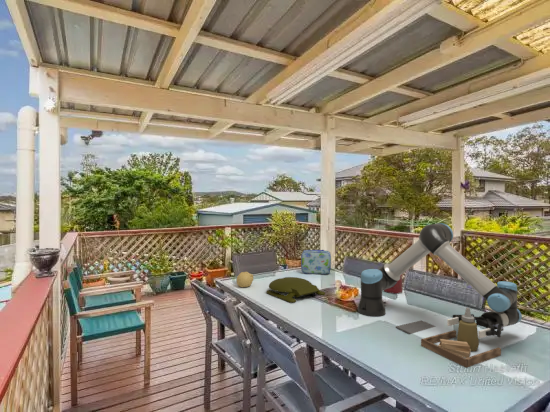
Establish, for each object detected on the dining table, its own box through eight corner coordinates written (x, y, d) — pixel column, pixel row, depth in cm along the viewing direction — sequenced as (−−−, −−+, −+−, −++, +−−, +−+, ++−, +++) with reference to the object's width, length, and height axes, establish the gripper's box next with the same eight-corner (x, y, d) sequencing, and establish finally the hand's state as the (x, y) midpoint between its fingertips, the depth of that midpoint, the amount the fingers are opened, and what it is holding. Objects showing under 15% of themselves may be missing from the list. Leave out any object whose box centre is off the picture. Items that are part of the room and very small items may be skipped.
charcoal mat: (421, 321, 166) (421, 320, 166) (453, 334, 150) (453, 333, 150) (395, 327, 159) (395, 326, 159) (426, 342, 142) (426, 340, 142)
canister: (402, 289, 227) (402, 264, 226) (403, 294, 214) (403, 268, 214) (383, 287, 231) (382, 263, 231) (382, 292, 219) (382, 267, 218)
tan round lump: (255, 285, 240) (255, 271, 239) (245, 289, 229) (245, 274, 229) (243, 283, 246) (243, 269, 246) (233, 287, 236) (233, 272, 235)
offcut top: (439, 343, 134) (439, 338, 134) (466, 346, 131) (466, 342, 131) (442, 348, 130) (442, 343, 130) (469, 351, 127) (469, 346, 127)
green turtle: (326, 295, 215) (326, 281, 215) (291, 304, 197) (291, 288, 196) (293, 284, 243) (293, 271, 243) (260, 291, 225) (260, 277, 225)
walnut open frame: (454, 338, 146) (454, 330, 146) (500, 358, 128) (501, 348, 128) (421, 348, 137) (421, 339, 137) (466, 370, 119) (466, 360, 119)
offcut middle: (440, 346, 136) (440, 341, 136) (470, 354, 129) (470, 349, 129) (438, 350, 133) (438, 345, 132) (468, 358, 126) (468, 353, 126)
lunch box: (331, 272, 281) (331, 248, 281) (331, 275, 271) (331, 250, 270) (301, 271, 286) (301, 248, 285) (300, 274, 275) (300, 250, 275)
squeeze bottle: (452, 346, 138) (452, 305, 138) (470, 345, 139) (470, 304, 139) (465, 355, 130) (465, 311, 130) (483, 354, 131) (484, 311, 131)
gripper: (525, 339, 131) (494, 349, 122) (466, 318, 154) (436, 326, 144) (525, 321, 131) (494, 330, 122) (466, 303, 153) (436, 310, 144)
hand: (463, 328), depth 133 cm, fingers open, 13 cm apart
